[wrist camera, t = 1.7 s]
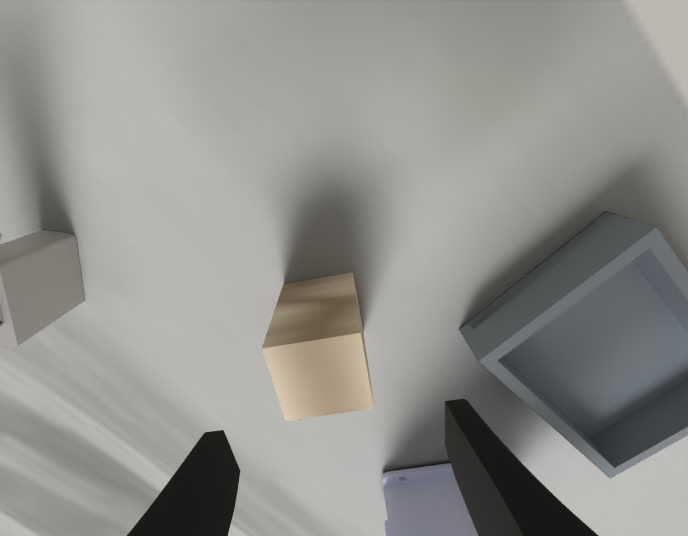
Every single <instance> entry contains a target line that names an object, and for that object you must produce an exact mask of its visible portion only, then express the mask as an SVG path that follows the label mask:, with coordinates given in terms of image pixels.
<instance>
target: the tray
mask: <svg viewBox="0 0 688 536" xmlns="http://www.w3.org/2000/svg"><path fill="white" fill-rule="evenodd" d="M459 330H460V332H461V334H462V335H463V337H464V338H465V340H466V342H467V343H468V345H469V347H470V348H471V350H472V351H473V353H474V355H475V356H476V358H477V359H478V361H479V362H480V363H481V364H482V365H483V366H484V367H486V368H487V369H488V370H489V371H490V372H491V373H492V374H493V375H495V376H496V377H497V378H498V379H499V380H500V381H501V382H502V383H504V384H505V385H506V386H507V387H508V388H509V389H510V390H511V391H513V392H514V393H515V394H516V395H517V396H518V397H519V398H520V399H521V400H523V401H524V402H525V403H526V404H527V405H528V406H529V407H530V408H532V409H533V410H534V411H535V412H536V413H537V414H538V415H539V416H541V417H542V418H543V419H544V420H545V421H546V422H547V423H548V424H550V425H551V426H552V427H553V428H554V429H555V430H556V431H557V432H559V433H560V434H561V435H562V436H563V437H564V438H565V439H566V440H567V441H569V442H570V443H571V444H572V445H573V446H574V447H575V448H576V449H578V450H579V451H580V452H581V453H582V454H583V455H584V456H585V457H587V458H588V459H589V460H590V461H591V462H592V463H593V464H594V465H596V466H597V467H598V468H599V469H600V470H601V471H602V472H603V473H605V474H606V475H607V476H608V477H609V478H612V477H614V476H615V475H617V474H619V473H621V472H623V471H624V470H626V469H628V468H630V467H632V466H633V465H635V464H637V463H639V462H641V461H642V460H644V459H646V458H648V457H650V456H651V455H653V454H655V453H657V452H658V451H660V450H662V449H664V448H666V447H667V446H669V445H671V444H673V443H675V442H676V441H678V440H680V439H682V438H684V437H685V436H687V435H688V271H687V270H686V268H685V267H684V265H683V264H682V262H681V261H680V260H679V258H678V257H677V255H676V254H675V252H674V251H673V249H672V248H671V246H670V245H669V244H668V242H667V241H666V239H665V238H664V236H663V235H662V233H661V232H660V231H659V229H658V228H657V227H655V226H652V225H649V224H645V223H642V222H639V221H636V220H632V219H629V218H626V217H622V216H619V215H616V214H612V213H609V212H605V213H603V214H602V215H601V216H600V217H598V218H597V219H596V220H595V221H593V222H592V223H591V224H590V225H588V226H587V227H586V228H585V229H583V230H582V231H581V232H580V233H578V234H577V235H576V236H575V237H573V238H572V239H571V240H570V241H568V242H567V243H566V244H565V245H564V246H562V247H561V248H560V249H559V250H557V251H556V252H555V253H554V254H552V255H551V256H550V257H549V258H547V259H546V260H545V261H544V262H542V263H541V264H540V265H539V266H537V267H536V268H535V269H534V270H532V271H531V272H530V273H529V274H527V275H526V276H525V277H524V278H522V279H521V280H520V281H519V282H517V283H516V284H515V285H514V286H512V287H511V288H510V289H509V290H507V291H506V292H505V293H504V294H502V295H501V296H500V297H499V298H498V299H496V300H495V301H494V302H493V303H491V304H490V305H489V306H488V307H486V308H485V309H484V310H483V311H481V312H480V313H479V314H478V315H476V316H475V317H474V318H473V319H471V320H470V321H469V322H468V323H466V324H465V325H464V326H463V327H461V328H460V329H459Z"/></svg>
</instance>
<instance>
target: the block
mask: <svg viewBox="0 0 688 536" xmlns="http://www.w3.org/2000/svg"><path fill="white" fill-rule="evenodd" d="M262 350H263V353H264V356H265V360H266V363H267V366H268V369H269V372H270V375H271V378H272V381H273V384H274V387H275V390H276V393H277V396H278V399H279V402H280V405H281V409H282V412H283V415H284V418H285V421H290V420H296V419H303V418H310V417H317V416H323V415H330V414H337V413H344V412H351V411H357V410H364V409H371V408H374V404H373V397H372V390H371V383H370V375H369V368H368V361H367V354H366V347H365V340H364V333H363V327H362V321H361V315H360V310H359V304H358V298H357V292H356V287H355V281H354V275H353V272H352V273H346V274H340V275H334V276H328V277H322V278H316V279H310V280H304V281H298V282H292V283H286V284H283V287H282V290H281V293H280V296H279V299H278V302H277V305H276V308H275V311H274V314H273V317H272V320H271V323H270V326H269V329H268V332H267V335H266V338H265V341H264V344H263V347H262Z"/></svg>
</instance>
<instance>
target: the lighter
mask: <svg viewBox="0 0 688 536" xmlns="http://www.w3.org/2000/svg"><path fill="white" fill-rule="evenodd" d="M1 235H2V234H1V233H0V240H1ZM83 301H85V297H84V290H83V283H82V275H81V268H80V261H79V253H78V246H77V238H76V237H75V236H74V235H73V234H69V233H63V232H56V231H50V230H41V231H39V232H36V233H33V234H30V235H27V236H24V237H21V238H18V239H15V240H12V241H9V242H6V243H4V244H1V245H0V347H7V348H16V347H17V346H19V345H20V344H22V343H23V342H25V341H26V340H28V339H29V338H31V337H32V336H33V335H35V334H36V333H38V332H39V331H41V330H42V329H44V328H45V327H47V326H48V325H50V324H51V323H53V322H54V321H56V320H57V319H58V318H60V317H61V316H63V315H64V314H66V313H67V312H69V311H70V310H72V309H73V308H75V307H76V306H78V305H79V304H80V303H82V302H83Z"/></svg>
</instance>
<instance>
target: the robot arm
mask: <svg viewBox="0 0 688 536" xmlns="http://www.w3.org/2000/svg"><path fill="white" fill-rule="evenodd" d="M445 445H446V449H447V452H448V456H449V459H450V463H447V464H440V465H433V466H425V467H418V468H411V469H404V470H397V471H390V472H385V473H384V474H383V475H382V481H383V486H384V494H385V501H386V508H387V516H388V520H386V521H385V530H386V536H598V535H597V534H596V533H595V532H594V531H592V530H591V529H590V528H589V527H588V526H587V525H586V524H585V523H583V522H582V521H581V520H580V519H579V518H578V517H577V516H576V515H574V514H573V513H572V512H571V511H570V510H569V509H568V508H567V507H566V506H565V505H564V504H562V503H561V502H560V501H559V500H558V499H557V498H556V497H555V496H554V495H553V494H552V493H551V492H550V491H549V490H548V489H547V488H546V487H545V486H544V485H543V484H542V483H541V482H540V481H539V480H538V479H537V478H536V477H535V476H534V475H533V474H532V473H531V472H530V471H529V470H528V469H527V468H526V467H525V466H524V465H523V464H522V463H521V462H520V461H519V460H518V459H517V458H516V457H515V456H514V454H513V453H512V452H511V451H510V450H509V449H508V448H507V447H506V446H505V445H504V444H503V443H502V441H501V440H500V439H499V438H498V437H497V436H496V435H495V434H494V432H493V431H492V430H491V429H490V428H489V427H488V426H487V424H486V423H485V422H484V421H483V420H482V418H481V417H480V416H479V415H478V414H477V412H476V411H475V410H474V409H473V407H472V406H471V405H470V404H469V402H468V401H467V400H465V399H459V400H451V401H445ZM239 476H240V469H239V467H238V464H237V462H236V459H235V457H234V455H233V452H232V450H231V447H230V445H229V443H228V440H227V438H226V435H225V433H224V430H221V431H213V432H205V433H204V434H203V436H202V437H201V438H200V440H199V441H198V442H197V444H196V445H195V446H194V448H193V449H192V451H191V452H190V453H189V455H188V456H187V458H186V459H185V460H184V462H183V463H182V464H181V466H180V467H179V469H178V470H177V471H176V473H175V474H174V475H173V477H172V478H171V480H170V481H169V482H168V484H167V485H166V486H165V488H164V489H163V490H162V492H161V493H160V494H159V495H158V497H157V498H156V499H155V501H154V502H153V503H152V505H151V506H150V507H149V509H148V510H147V511H146V513H145V514H144V515H143V516H142V518H141V519H140V520H139V521H138V523H137V524H136V525H135V526H134V528H133V529H132V530H131V531H130V533H129V534H128V535H127V536H228V532H229V528H230V524H231V520H232V516H233V512H234V508H235V502H236V496H237V490H238V483H239Z"/></svg>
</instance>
